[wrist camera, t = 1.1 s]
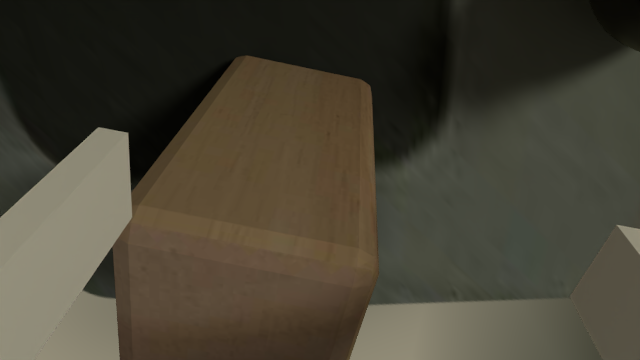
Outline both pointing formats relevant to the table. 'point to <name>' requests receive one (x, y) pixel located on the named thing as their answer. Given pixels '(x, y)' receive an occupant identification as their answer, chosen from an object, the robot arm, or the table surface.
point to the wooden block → (255, 224)
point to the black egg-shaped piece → (619, 20)
